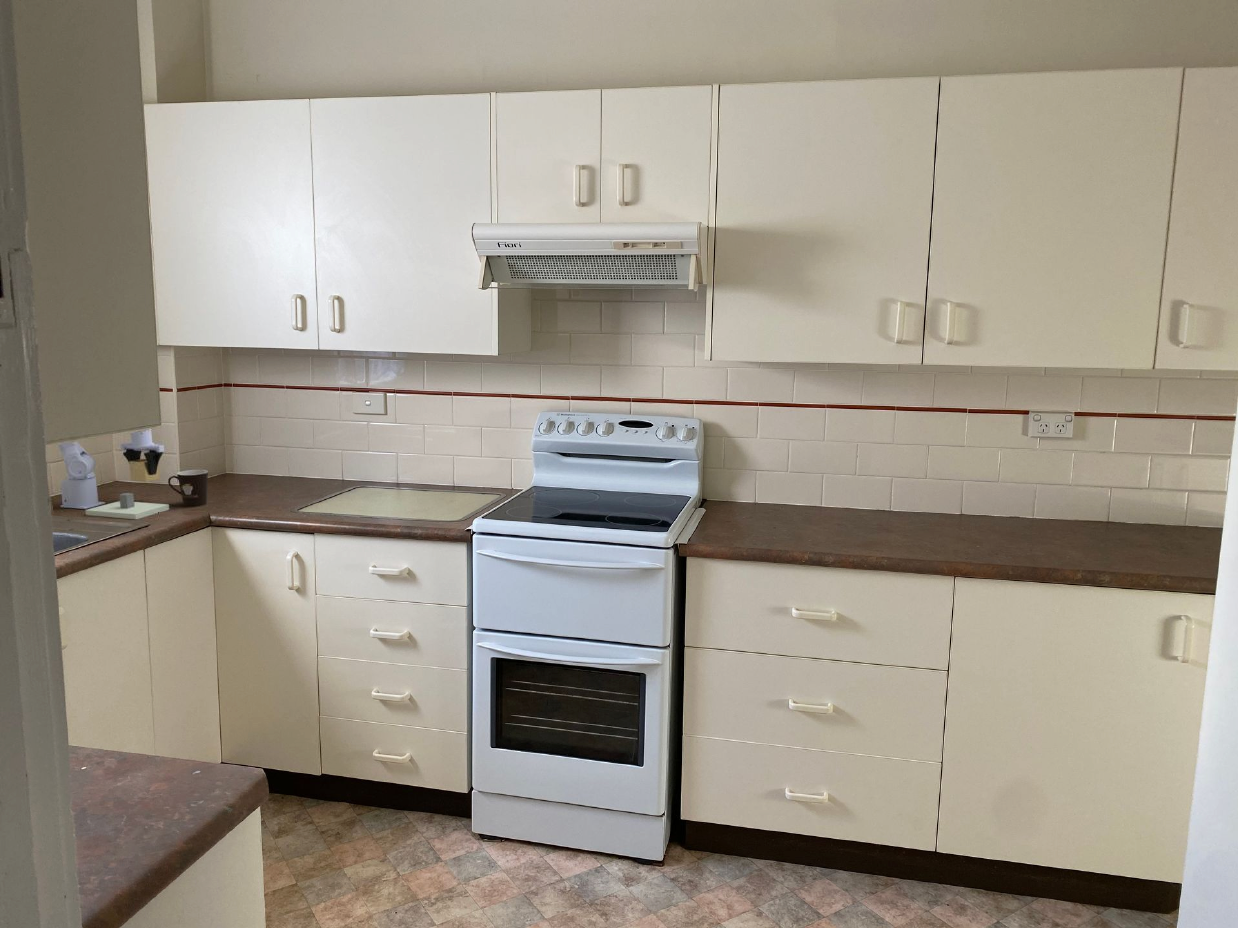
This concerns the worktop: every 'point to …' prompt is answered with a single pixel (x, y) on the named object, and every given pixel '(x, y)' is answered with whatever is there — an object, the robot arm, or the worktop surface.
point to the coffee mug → (192, 487)
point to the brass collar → (141, 471)
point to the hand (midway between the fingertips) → (144, 473)
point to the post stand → (127, 508)
